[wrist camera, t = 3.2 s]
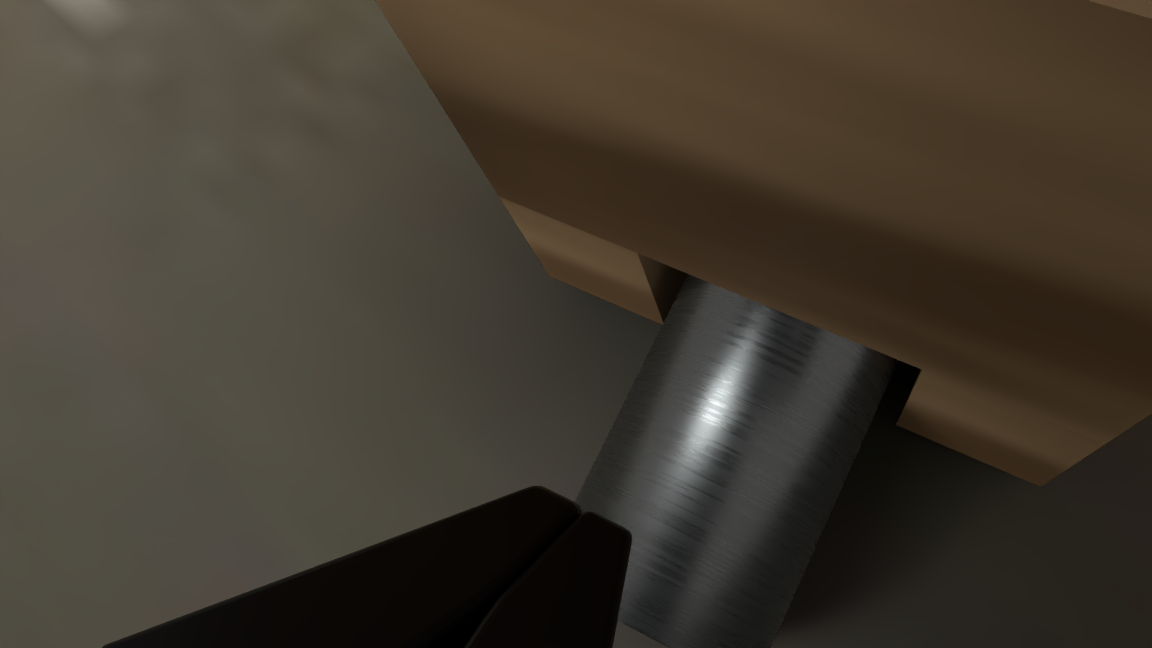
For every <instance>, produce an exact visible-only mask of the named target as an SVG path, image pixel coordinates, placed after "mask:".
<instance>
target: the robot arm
mask: <svg viewBox="0 0 1152 648" xmlns="http://www.w3.org/2000/svg"><path fill="white" fill-rule="evenodd" d="M631 545H632V533H631V532H630V530H628V529H627V528H625V527H623V526H621V525H619V524H617V523H615V522H613V521H611V520H609V519H607V518H605V517H603V516H601V515H599V514H597V513H595V512H592V511H588V512H584V513H583V511H582V509H581V508H580V506H579V505H578V504H577V503H575V502H573V501H571V500H569V499H567V498H565V497H563V496H561V495H559V494H557V493H555V492H553V491H551V490H549V489H547V488H545V487H542V486H531V487H528V488H525V489H522V490H520V491H517V492H514V493H512V494H509V495H506V496H504V497H501V498H498V499H496V500H493V501H490V502H488V503H485V504H482V505H480V506H477V507H474V508H471V509H469V510H466V511H463V512H461V513H458V514H455V515H453V516H450V517H447V518H445V519H442V520H439V521H437V522H434V523H431V524H429V525H426V526H423V527H420V528H418V529H415V530H412V531H410V532H407V533H404V534H402V535H399V536H396V537H394V538H391V539H388V540H386V541H383V542H380V543H378V544H375V545H372V546H369V547H367V548H364V549H361V550H359V551H356V552H353V553H351V554H348V555H345V556H343V557H340V558H337V559H335V560H332V561H329V562H327V563H324V564H321V565H318V566H316V567H313V568H310V569H308V570H305V571H302V572H300V573H297V574H294V575H292V576H289V577H286V578H284V579H281V580H278V581H275V582H273V583H270V584H267V585H265V586H262V587H259V588H257V589H254V590H251V591H249V592H246V593H243V594H241V595H238V596H235V597H233V598H230V599H227V600H224V601H222V602H219V603H216V604H214V605H211V606H208V607H206V608H203V609H200V610H198V611H195V612H192V613H190V614H187V615H184V616H182V617H179V618H176V619H173V620H171V621H168V622H165V623H163V624H160V625H157V626H155V627H152V628H149V629H147V630H144V631H141V632H139V633H136V634H133V635H131V636H128V637H125V638H122V639H120V640H117V641H114V642H112V643H109V644H106V645H104V646H103V647H102V648H612V647H613V642H614V636H615V631H616V626H617V620H618V615H619V610H620V604H621V599H622V593H623V588H624V583H625V577H626V572H627V567H628V561H629V556H630V551H631Z"/></svg>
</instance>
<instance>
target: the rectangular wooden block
mask: <svg viewBox="0 0 1152 648" xmlns="http://www.w3.org/2000/svg"><path fill="white" fill-rule="evenodd" d="M375 1H376V2H377V4H378V6H379V7H380V9H381V10H382V12H383V14H384V15H385V17H386V18H387V20H388V21H389V23H390V25H391V26H392V28H393V29H394V31H395V33H396V34H397V36H398V37H399V39H400V40H401V42H402V44H403V45H404V47H405V48H406V50H407V52H408V53H409V55H410V56H411V58H412V59H413V61H414V63H415V64H416V66H417V67H418V69H419V71H420V72H421V74H422V75H423V77H424V78H425V80H426V82H427V83H428V85H429V86H430V88H431V90H432V91H433V93H434V94H435V96H436V98H437V99H438V101H439V102H440V104H441V105H442V107H443V109H444V110H445V112H446V113H447V115H448V117H449V118H450V120H451V121H452V123H453V124H454V126H455V128H456V129H457V131H458V132H459V134H460V136H461V137H462V139H463V140H464V142H465V143H466V145H467V147H468V148H469V150H470V151H471V153H472V155H473V156H474V158H475V159H476V161H477V163H478V164H479V166H480V167H481V169H482V170H483V172H484V174H485V175H486V177H487V178H488V180H489V182H490V183H491V185H492V186H493V188H494V189H495V191H496V193H497V194H498V196H499V197H500V199H501V201H502V202H503V204H504V205H505V207H506V208H507V210H508V212H509V213H510V215H511V216H512V218H513V220H514V221H515V223H516V224H517V226H518V228H519V229H520V231H521V232H522V234H523V235H524V237H525V239H526V240H527V242H528V243H529V245H530V247H531V248H532V250H533V251H534V253H535V254H536V256H537V258H538V259H539V261H540V262H541V264H542V266H543V267H544V269H545V270H546V272H547V273H548V275H549V276H550V277H552V278H554V279H557V280H559V281H561V282H564V283H566V284H568V285H571V286H573V287H575V288H578V289H580V290H582V291H585V292H587V293H589V294H592V295H594V296H596V297H599V298H601V299H603V300H606V301H608V302H610V303H613V304H615V305H617V306H620V307H622V308H624V309H627V310H629V311H631V312H634V313H636V314H638V315H641V316H643V317H645V318H648V319H650V320H652V321H655V322H657V323H659V324H662V325H663V323H664V321H665V319H666V317H667V315H668V313H669V311H670V309H671V307H672V305H673V303H674V301H675V299H676V297H677V295H678V293H679V291H680V289H681V287H682V285H683V283H684V281H685V279H686V277H687V275H688V274H689V275H692V276H694V277H697V278H699V279H702V280H704V281H707V282H709V283H711V284H714V285H716V286H719V287H721V288H724V289H726V290H729V291H731V292H733V293H736V294H738V295H741V296H743V297H746V298H748V299H751V300H753V301H755V302H758V303H760V304H763V305H765V306H768V307H770V308H773V309H775V310H777V311H780V312H782V313H785V314H787V315H790V316H792V317H795V318H797V319H799V320H802V321H804V322H807V323H809V324H812V325H814V326H817V327H819V328H822V329H824V330H826V331H829V332H831V333H834V334H836V335H839V336H841V337H844V338H846V339H848V340H851V341H853V342H856V343H858V344H861V345H863V346H866V347H868V348H870V349H873V350H875V351H878V352H880V353H883V354H885V355H888V356H890V357H892V358H895V359H897V360H900V361H902V362H905V363H907V364H910V365H912V366H914V367H917V368H919V369H920V372H919V374H918V376H917V379H916V381H915V383H914V385H913V388H912V390H911V392H910V394H909V397H908V399H907V401H906V404H905V406H904V408H903V410H902V413H901V415H900V417H899V419H898V422H897V424H896V425H897V426H900V427H902V428H904V429H907V430H909V431H911V432H914V433H916V434H918V435H921V436H923V437H925V438H928V439H930V440H932V441H935V442H937V443H939V444H942V445H944V446H946V447H949V448H951V449H953V450H956V451H958V452H960V453H963V454H965V455H967V456H970V457H972V458H974V459H977V460H979V461H981V462H984V463H986V464H988V465H991V466H993V467H995V468H998V469H1000V470H1002V471H1005V472H1007V473H1009V474H1012V475H1014V476H1016V477H1019V478H1021V479H1023V480H1026V481H1028V482H1030V483H1033V484H1035V485H1037V486H1039V487H1041V486H1043V485H1044V484H1046V483H1047V482H1049V481H1050V480H1052V479H1053V478H1055V477H1056V476H1058V475H1059V474H1061V473H1062V472H1064V471H1065V470H1067V469H1068V468H1070V467H1071V466H1073V465H1074V464H1076V463H1077V462H1079V461H1080V460H1082V459H1084V458H1085V457H1087V456H1088V455H1090V454H1091V453H1093V452H1094V451H1096V450H1097V449H1099V448H1100V447H1102V446H1103V445H1105V444H1106V443H1108V442H1109V441H1111V440H1112V439H1114V438H1115V437H1117V436H1118V435H1120V434H1121V433H1123V432H1124V431H1126V430H1127V429H1129V428H1130V427H1132V426H1133V425H1135V424H1137V423H1138V422H1140V421H1141V420H1143V419H1144V418H1146V417H1147V416H1149V415H1150V414H1152V0H375Z"/></svg>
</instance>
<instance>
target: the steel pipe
mask: <svg viewBox="0 0 1152 648" xmlns="http://www.w3.org/2000/svg"><path fill="white" fill-rule="evenodd" d="M898 361H899V360H897V359H895V358H892V357H890V356H888V355H885V354H883V353H880V352H878V351H875V350H873V349H870V348H868V347H866V346H863V345H861V344H858V343H856V342H853V341H851V340H848V339H846V338H844V337H841V336H839V335H836V334H834V333H831V332H829V331H826V330H824V329H822V328H819V327H817V326H814V325H812V324H809V323H807V322H804V321H802V320H799V319H797V318H795V317H792V316H790V315H787V314H785V313H782V312H780V311H777V310H775V309H773V308H770V307H768V306H765V305H763V304H760V303H758V302H755V301H753V300H751V299H748V298H746V297H743V296H741V295H738V294H736V293H733V292H731V291H729V290H726V289H724V288H721V287H719V286H716V285H714V284H711V283H709V282H707V281H704V280H702V279H699V278H697V277H694V276H692V275H689V274H688V275H687V277H686V279H685V281H684V283H683V285H682V287H681V289H680V291H679V293H678V295H677V297H676V299H675V301H674V303H673V305H672V307H671V309H670V311H669V313H668V315H667V317H666V319H665V321H664V323H663V325H662V327H661V329H660V331H659V333H658V335H657V337H656V339H655V341H654V343H653V345H652V347H651V349H650V351H649V353H648V355H647V357H646V359H645V362H644V364H643V366H642V368H641V370H640V372H639V374H638V376H637V378H636V380H635V382H634V384H633V386H632V388H631V390H630V392H629V394H628V396H627V398H626V400H625V402H624V404H623V406H622V408H621V410H620V412H619V414H618V416H617V418H616V420H615V422H614V424H613V426H612V428H611V430H610V432H609V434H608V436H607V438H606V440H605V442H604V444H603V446H602V448H601V450H600V452H599V454H598V456H597V458H596V460H595V462H594V464H593V466H592V468H591V470H590V472H589V474H588V476H587V478H586V480H585V482H584V484H583V486H582V488H581V490H580V492H579V494H578V496H577V498H576V500H575V503H577V504H578V505H579V506H580V508H581V509H582V511H583V513H584V512H588V511H592V512H595V513H597V514H599V515H601V516H603V517H605V518H607V519H609V520H611V521H613V522H615V523H617V524H619V525H621V526H623V527H625V528H627V529H628V530H630V532H631V533H632V545H631V551H630V556H629V561H628V567H627V572H626V577H625V583H624V588H623V593H622V599H621V604H620V610H619V615H618V621H620V622H622V623H624V624H626V625H628V626H629V627H631V628H633V629H635V630H637V631H639V632H641V633H643V634H645V635H647V636H648V637H650V638H652V639H654V640H656V641H658V642H660V643H662V644H664V645H666V646H668V647H670V648H771V647H772V644H773V642H774V640H775V638H776V635H777V633H778V631H779V629H780V626H781V624H782V622H783V620H784V617H785V615H786V613H787V611H788V608H789V606H790V604H791V602H792V599H793V597H794V595H795V593H796V590H797V588H798V586H799V584H800V581H801V579H802V577H803V575H804V572H805V570H806V568H807V566H808V563H809V561H810V559H811V557H812V554H813V552H814V550H815V548H816V545H817V543H818V541H819V539H820V536H821V534H822V532H823V530H824V527H825V525H826V523H827V521H828V518H829V516H830V514H831V512H832V509H833V507H834V505H835V503H836V500H837V498H838V496H839V494H840V491H841V489H842V487H843V485H844V482H845V480H846V478H847V476H848V473H849V471H850V469H851V467H852V464H853V462H854V460H855V458H856V455H857V453H858V451H859V449H860V446H861V444H862V442H863V440H864V437H865V435H866V433H867V431H868V428H869V426H870V424H871V422H872V419H873V417H874V415H875V413H876V410H877V408H878V406H879V404H880V401H881V399H882V397H883V395H884V392H885V390H886V388H887V386H888V383H889V381H890V379H891V377H892V374H893V372H894V370H895V368H896V365H897V363H898Z"/></svg>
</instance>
